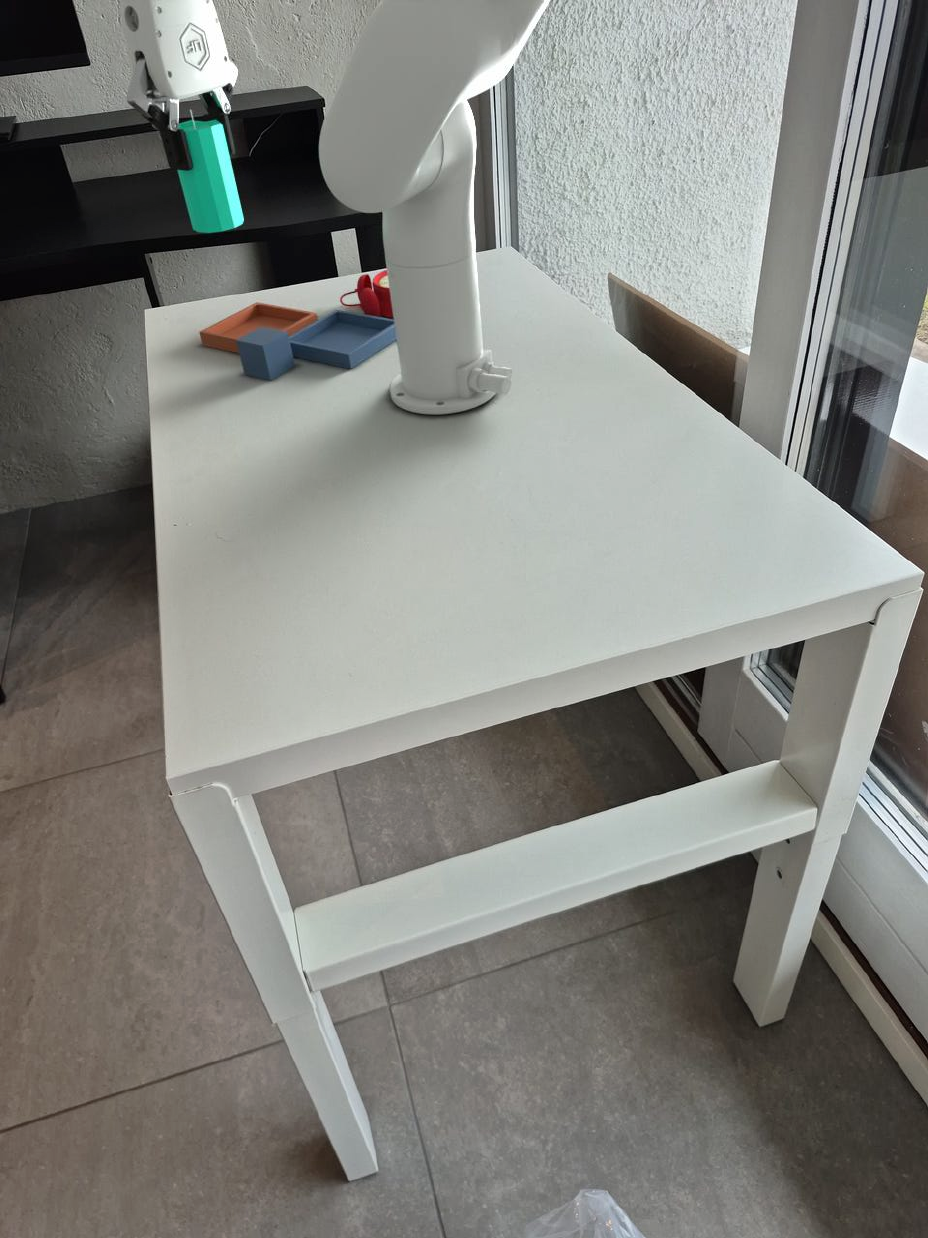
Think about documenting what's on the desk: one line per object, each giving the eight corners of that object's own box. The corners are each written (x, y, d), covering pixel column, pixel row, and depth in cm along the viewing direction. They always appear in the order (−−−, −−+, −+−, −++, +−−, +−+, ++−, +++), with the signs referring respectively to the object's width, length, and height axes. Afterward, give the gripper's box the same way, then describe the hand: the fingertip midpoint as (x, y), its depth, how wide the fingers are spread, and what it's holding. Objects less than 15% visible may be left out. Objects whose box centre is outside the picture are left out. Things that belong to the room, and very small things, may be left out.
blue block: (295, 366, 114) (287, 331, 111) (270, 380, 111) (262, 345, 108) (269, 360, 116) (260, 326, 113) (244, 374, 113) (235, 340, 110)
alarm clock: (458, 284, 120) (345, 276, 117) (452, 330, 124) (343, 323, 121) (444, 260, 128) (338, 251, 125) (439, 304, 132) (336, 297, 128)
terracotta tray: (319, 326, 123) (316, 312, 122) (263, 358, 116) (259, 344, 115) (259, 315, 128) (256, 301, 127) (202, 345, 121) (198, 331, 120)
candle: (233, 231, 103) (205, 113, 95) (184, 233, 104) (153, 116, 96) (251, 215, 107) (226, 101, 100) (204, 217, 109) (176, 104, 101)
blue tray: (404, 334, 118) (402, 320, 117) (351, 369, 111) (348, 354, 110) (338, 322, 123) (336, 309, 122) (284, 354, 117) (280, 340, 115)
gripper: (114, -26, 83) (171, 184, 94) (241, -48, 94) (278, 143, 105) (61, -24, 86) (122, 180, 98) (190, -45, 97) (231, 140, 108)
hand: (203, 159), depth 101 cm, fingers closed on candle, 6 cm apart
